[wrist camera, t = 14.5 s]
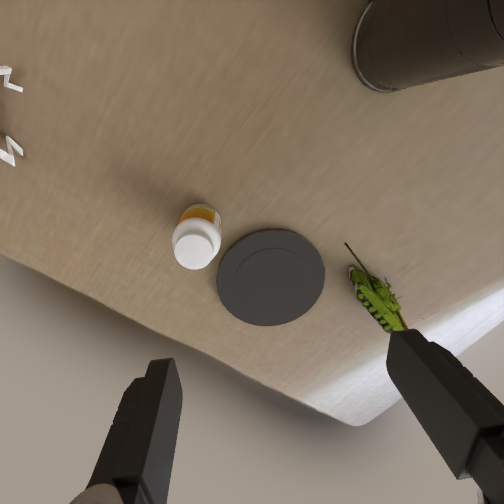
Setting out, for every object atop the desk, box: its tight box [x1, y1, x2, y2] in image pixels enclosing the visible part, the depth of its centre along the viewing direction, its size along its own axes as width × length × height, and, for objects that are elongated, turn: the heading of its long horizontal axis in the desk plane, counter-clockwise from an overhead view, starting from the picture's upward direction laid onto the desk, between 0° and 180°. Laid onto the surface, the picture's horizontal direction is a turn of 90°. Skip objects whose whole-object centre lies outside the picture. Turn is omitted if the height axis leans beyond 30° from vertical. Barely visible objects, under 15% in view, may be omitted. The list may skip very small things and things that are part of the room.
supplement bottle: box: [172, 204, 222, 269], centre depth 32 cm, size 5×5×10 cm
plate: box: [217, 229, 325, 326], centre depth 41 cm, size 16×16×1 cm
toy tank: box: [344, 242, 425, 334], centre depth 40 cm, size 7×19×10 cm
